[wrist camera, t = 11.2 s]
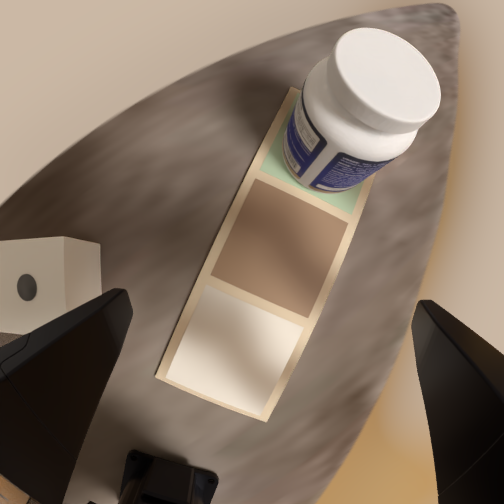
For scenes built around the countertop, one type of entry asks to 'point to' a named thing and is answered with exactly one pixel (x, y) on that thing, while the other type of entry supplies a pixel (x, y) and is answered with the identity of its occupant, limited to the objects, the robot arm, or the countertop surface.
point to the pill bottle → (358, 110)
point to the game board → (262, 283)
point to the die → (45, 280)
